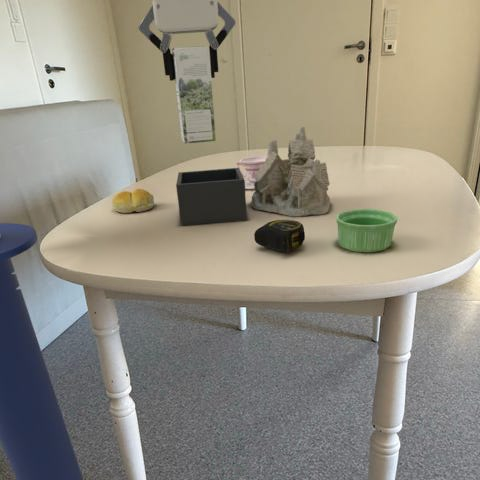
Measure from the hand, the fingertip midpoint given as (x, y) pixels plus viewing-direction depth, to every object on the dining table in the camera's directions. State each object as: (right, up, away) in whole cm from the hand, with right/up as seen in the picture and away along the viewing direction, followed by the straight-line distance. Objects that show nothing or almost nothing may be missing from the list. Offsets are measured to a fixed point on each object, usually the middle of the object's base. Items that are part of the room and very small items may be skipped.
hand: (192, 78), depth 75 cm
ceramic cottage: (+18, -17, +17) cm, 31 cm away
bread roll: (-15, -16, +24) cm, 33 cm away
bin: (+3, -19, +16) cm, 25 cm away
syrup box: (+1, -9, +5) cm, 10 cm away
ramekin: (+28, -29, -5) cm, 40 cm away
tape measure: (+15, -30, -5) cm, 34 cm away
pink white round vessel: (+12, -7, +37) cm, 40 cm away
